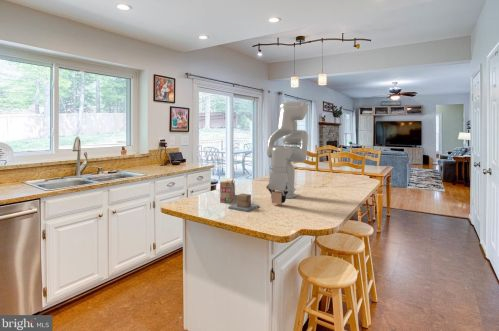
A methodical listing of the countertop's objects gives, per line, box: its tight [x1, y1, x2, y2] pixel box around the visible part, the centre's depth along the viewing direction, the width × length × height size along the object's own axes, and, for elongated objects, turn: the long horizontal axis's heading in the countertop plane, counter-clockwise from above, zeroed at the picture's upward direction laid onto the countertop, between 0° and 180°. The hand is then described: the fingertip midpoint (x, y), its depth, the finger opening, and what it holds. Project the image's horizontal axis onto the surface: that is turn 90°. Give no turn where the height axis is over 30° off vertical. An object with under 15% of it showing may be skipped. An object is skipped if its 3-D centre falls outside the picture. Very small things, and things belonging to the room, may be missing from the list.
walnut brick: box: [236, 193, 252, 208], centre depth 167 cm, size 6×6×6 cm
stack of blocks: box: [219, 177, 236, 204], centre depth 189 cm, size 21×6×12 cm, turn 176°
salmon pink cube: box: [271, 190, 283, 205], centre depth 174 cm, size 6×6×6 cm
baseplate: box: [228, 203, 260, 213], centre depth 167 cm, size 12×12×1 cm
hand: (278, 201), depth 174 cm, fingers closed on salmon pink cube, 5 cm apart
